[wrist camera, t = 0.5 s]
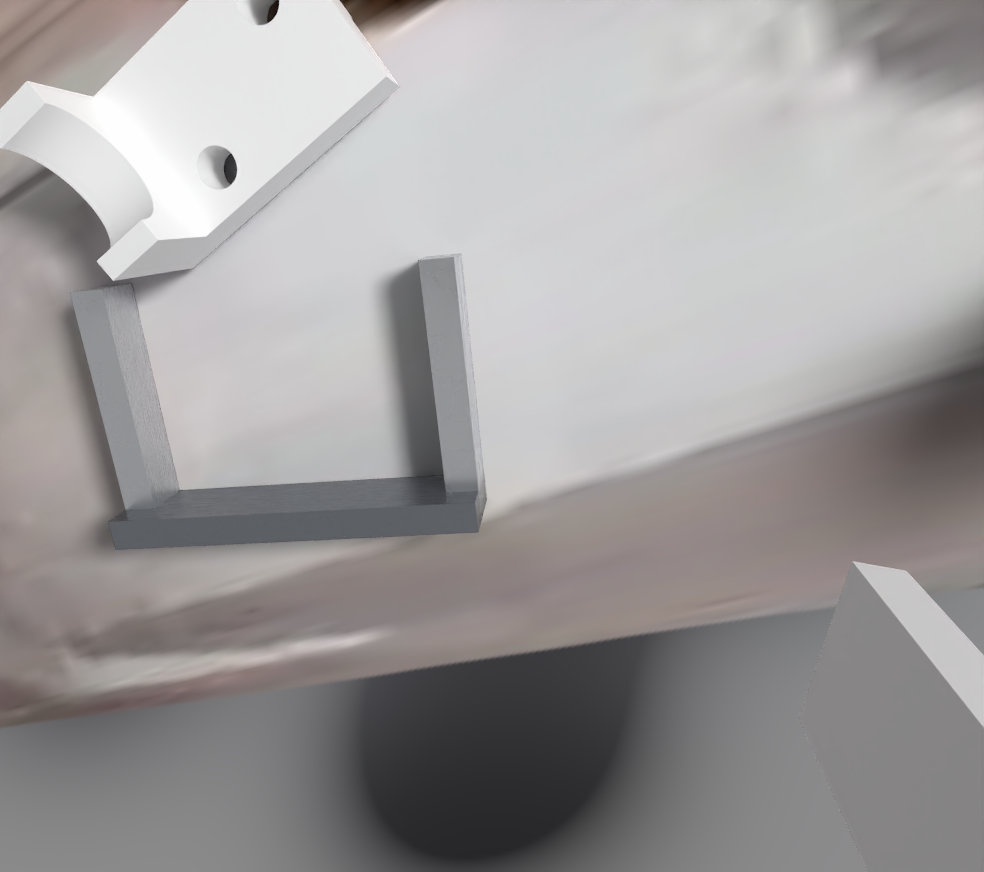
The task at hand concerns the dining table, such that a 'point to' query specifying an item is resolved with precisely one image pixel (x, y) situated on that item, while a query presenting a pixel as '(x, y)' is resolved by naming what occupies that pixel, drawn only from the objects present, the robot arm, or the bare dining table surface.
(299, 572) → the dining table surface
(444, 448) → the u-shaped rail frame
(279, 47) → the bracket
